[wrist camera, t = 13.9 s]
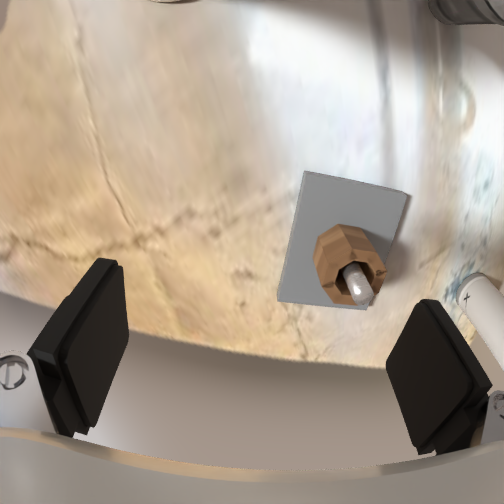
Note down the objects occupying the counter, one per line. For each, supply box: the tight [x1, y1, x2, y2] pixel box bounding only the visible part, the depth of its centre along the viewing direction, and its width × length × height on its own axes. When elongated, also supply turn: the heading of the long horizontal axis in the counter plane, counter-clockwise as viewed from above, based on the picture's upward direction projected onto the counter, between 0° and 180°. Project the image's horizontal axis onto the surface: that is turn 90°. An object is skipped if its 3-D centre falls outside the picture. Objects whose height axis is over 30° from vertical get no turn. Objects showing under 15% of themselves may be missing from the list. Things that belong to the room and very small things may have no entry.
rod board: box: [277, 171, 407, 310], centre depth 37 cm, size 16×12×2 cm
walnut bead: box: [312, 224, 387, 306], centre depth 34 cm, size 6×6×6 cm
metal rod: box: [340, 261, 374, 305], centre depth 32 cm, size 2×2×9 cm
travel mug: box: [456, 273, 504, 371], centre depth 32 cm, size 6×7×20 cm
